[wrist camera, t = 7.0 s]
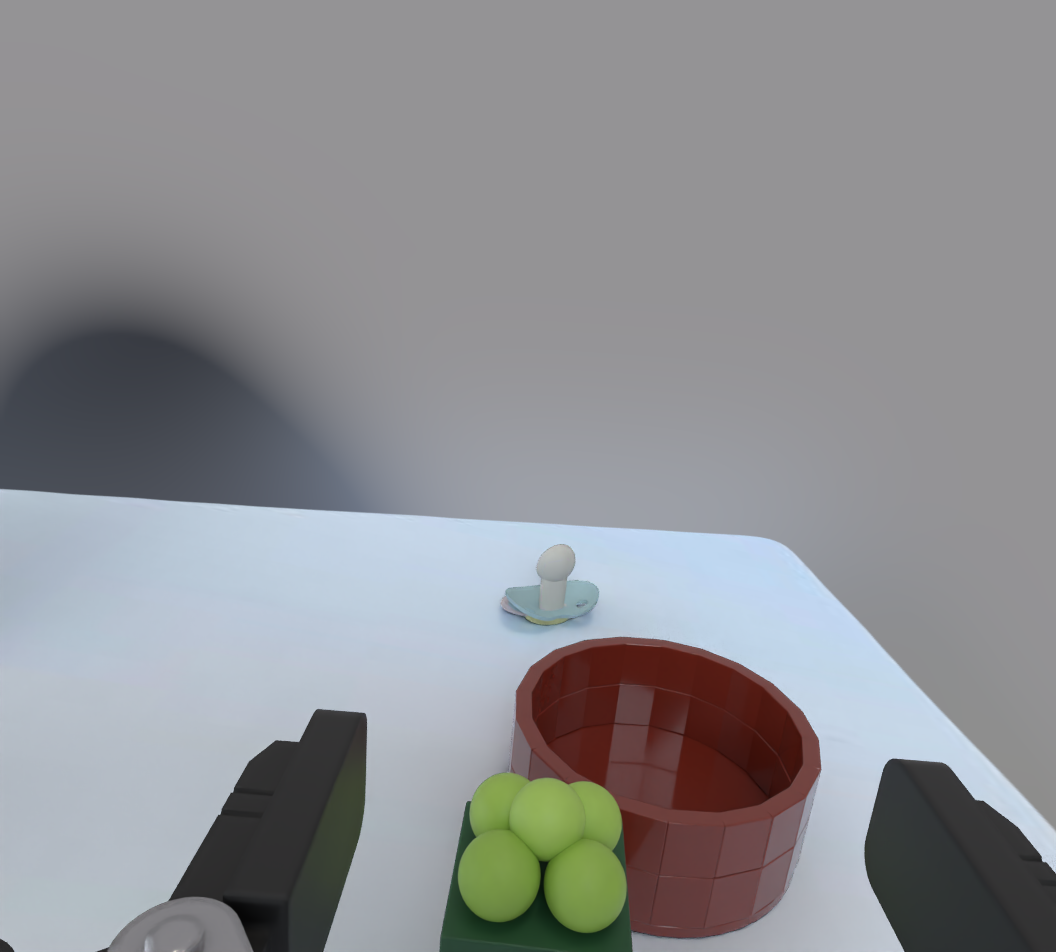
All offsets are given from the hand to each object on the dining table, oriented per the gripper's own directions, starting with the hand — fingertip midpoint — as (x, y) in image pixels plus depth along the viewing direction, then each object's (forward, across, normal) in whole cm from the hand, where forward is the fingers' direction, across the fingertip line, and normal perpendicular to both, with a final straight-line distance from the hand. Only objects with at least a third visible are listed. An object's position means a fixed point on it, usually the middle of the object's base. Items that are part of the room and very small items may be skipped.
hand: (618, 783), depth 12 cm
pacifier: (+44, 0, +19) cm, 48 cm away
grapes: (+10, 0, +20) cm, 22 cm away
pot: (+23, -6, +20) cm, 31 cm away
